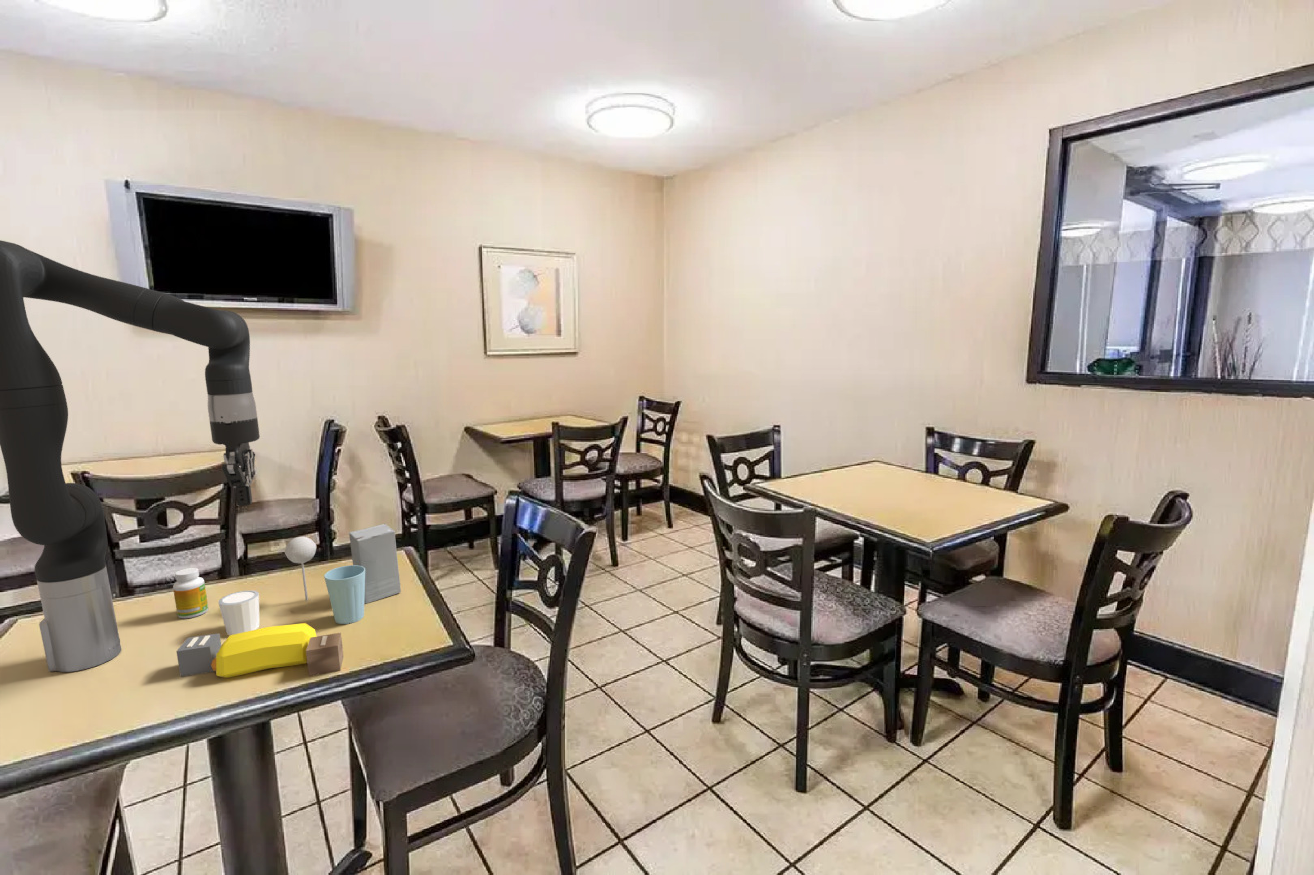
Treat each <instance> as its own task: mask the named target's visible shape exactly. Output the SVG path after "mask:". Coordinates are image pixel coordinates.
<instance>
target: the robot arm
mask: <svg viewBox="0 0 1314 875" xmlns="http://www.w3.org/2000/svg"><path fill="white" fill-rule="evenodd" d="M24 298H29V299H33V300H35V299H36V300H44V301H50V302H54V303H55V302H56V303H60V304H66V305H71V306H74V307H78V308H81V309H84V310H86V311H90V312H93V313H96V314H99V315H101V316H104V317H107V318H108V319H112V320H114V321H117V322H120V323H124V324H127V325H129V326H134V327H137V328H140V329H141V328H142V329H146V330H148V331H149V330H150V331H153V332H156V333H159V334H160V333H161V334H166V335H172V336H174V337H176V338H179V339H182V340H184V341H188V342H190V343H193V344H197V345H199V346H203V347H207V350H208V363H207V365H206V366H205V369H204V378H205V379H204V380H205V385H206V392H207V393H206V394H207V412H208V420H209V421H208V422H209V426H210V432H211V435H210V436H211V440H212V443H213V444H215V445H224V446H225V448H224V449H225V452H224V453H223V454H222V455H223V461H224V463H225V464H222V466H221V470H222V471H223V474H224V476H225V478H226V480H227V483H228V484H229V487H230V488H234V489H235V498H236V503H237V504H236V505H237V506H238V507H246V506H250V505H251V504H252V503H253V494H252V487H251V485H252V482H253V479H254V477H255V474H254V473H255V459H256V453H255V451H254V450H253V449H251V446H250V443H252V442H256V441H258V440H259V439H260V428H259V422H258V413H257V405H256V400H255V397H254V392H253V387H252V377H251V373H250V356H251V353H250V352H251V340H250V338H251V337H250V331H249V330H250V329H249V327H248V324H247V322H246V320H245V319H244V318H243V317H242V316H241V315H240V314H238V313H237V312H235V311H231V310H226V309H216V308H213V307H208V306H205V305H200V304H197V303H196V304H195V303H192V302H188V301H184V299H182V298H179V297H177V296H175V295H171V294H169V293H165V292H161V291H158V290H154V289H150V288H147V287H143V286H139V285H136V284H131V283H127V282H124V281H123V282H122V281H119V280H114V279H111V278H107V277H104V276H99V275H95V274H91V273H88V272H85V271H82V270H79V269H77V268H73V267H72V266H71V267H70V266H68V265H66V264H63V263H60V262H58V261H56V260H53V259H52V258H51V259H50V258H48V257H46V256H44V255H41V254H40V253H37V252H35V251H32V250H30V249H28V248H25V247H24V246H22V245H20V244H17V243H14V242H10V241H6V240H2V239H1V240H0V450H1V454H2V457H3V461H4V466H5V471H6V472H5V473H6V479H7V488H8V498H9V499H8V500H9V506H10V507H9V509H10V516H11V520H12V523H13V526H14V528H15V530H16V531H17V532H18V534H19V535H20V536H21V537H22V538H23V539H24V540H27V541H28V542H30V543H32V544H35V545H38V546H39V545H41V546H43V550H42V552H41V555H40V556H39V558H38V559H37V561H36V563H35V564H34V574H35V578H36V583H37V590H38V592H39V598H40V602H41V607H42V612H43V616H44V618H43V619H42V620H41V621H40V622H39V624H38V626H39V632H40V635H41V640H42V645H43V650H44V654H45V658H46V664H47V670H48V672H54V671H55V672H56V671H57V672H61V673H62V672H63V673H69V672H76V671H82V670H87V669H90V668H93V667H97V666H100V665H102V664H104V663H107V662H108V661H110V660H112V659H114V658H116V657H117V656H118V655H120V653H121V651H122V646H121V638H120V635H119V627H118V623H117V617H116V614H115V612H116V611H115V608H114V607H115V606H114V603H113V602H114V601H113V596H112V590H111V586H110V580H109V574H108V569H107V563H106V554H107V551H108V536H107V534H108V533H107V526H106V525H107V524H106V519H105V513H104V507H103V504H102V502H101V498H99V496H98V495H97V493H96V492H95V491H94V490H93V489H91V487H89V486H86V485H84V484H81V483H75V482H66V480H65V477H64V476H65V475H64V473H63V467H62V451H63V447H64V442H65V437H66V433H67V426H68V420H69V408H68V402H67V399H66V398H67V397H66V394H65V393H66V392H65V388H64V384H63V381H62V377H61V375H60V373H59V371H58V369H57V366H56V365H55V363H54V362H53V360H52V358H51V357H50V356H49V354H48V353H47V351H46V350H45V349H44V347H43V346H42V345H41V343H40V341H39V340H38V339H37V338H38V337H36V334H34V332H33V331H34V330H33V329H32V328H31V325H30V323H29V319H28V314H27V312H26V310H27V309H26V306H25V305H26V304H25V300H24Z"/></svg>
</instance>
